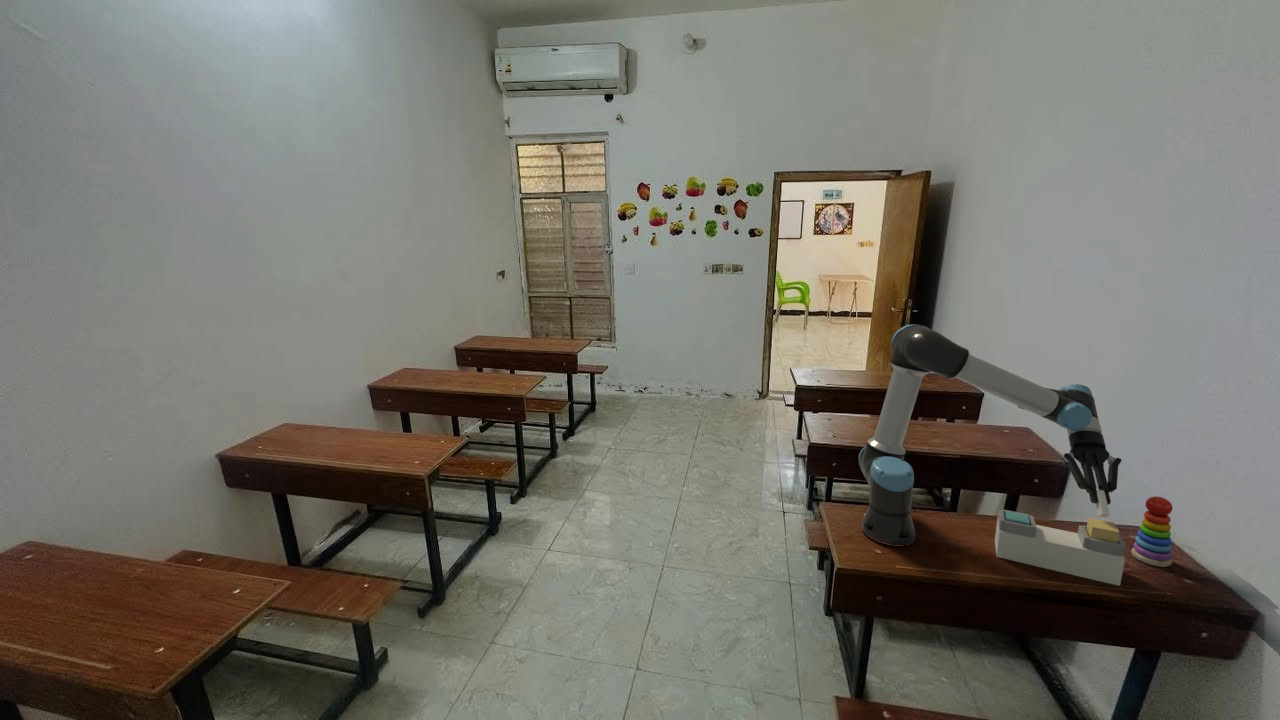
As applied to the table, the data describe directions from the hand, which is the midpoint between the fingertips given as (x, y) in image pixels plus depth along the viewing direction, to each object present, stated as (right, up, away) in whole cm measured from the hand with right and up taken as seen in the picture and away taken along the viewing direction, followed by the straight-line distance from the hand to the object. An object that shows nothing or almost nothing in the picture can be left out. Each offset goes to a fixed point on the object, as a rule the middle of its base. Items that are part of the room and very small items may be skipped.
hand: (1104, 515), depth 130 cm
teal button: (-16, -7, +10) cm, 20 cm away
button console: (-8, -15, +7) cm, 19 cm away
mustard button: (-1, -6, 0) cm, 6 cm away
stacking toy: (+19, -15, +6) cm, 25 cm away
